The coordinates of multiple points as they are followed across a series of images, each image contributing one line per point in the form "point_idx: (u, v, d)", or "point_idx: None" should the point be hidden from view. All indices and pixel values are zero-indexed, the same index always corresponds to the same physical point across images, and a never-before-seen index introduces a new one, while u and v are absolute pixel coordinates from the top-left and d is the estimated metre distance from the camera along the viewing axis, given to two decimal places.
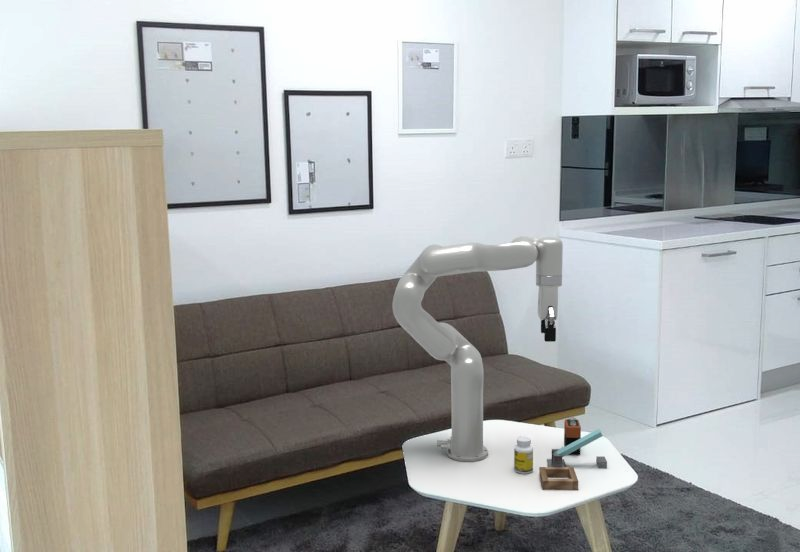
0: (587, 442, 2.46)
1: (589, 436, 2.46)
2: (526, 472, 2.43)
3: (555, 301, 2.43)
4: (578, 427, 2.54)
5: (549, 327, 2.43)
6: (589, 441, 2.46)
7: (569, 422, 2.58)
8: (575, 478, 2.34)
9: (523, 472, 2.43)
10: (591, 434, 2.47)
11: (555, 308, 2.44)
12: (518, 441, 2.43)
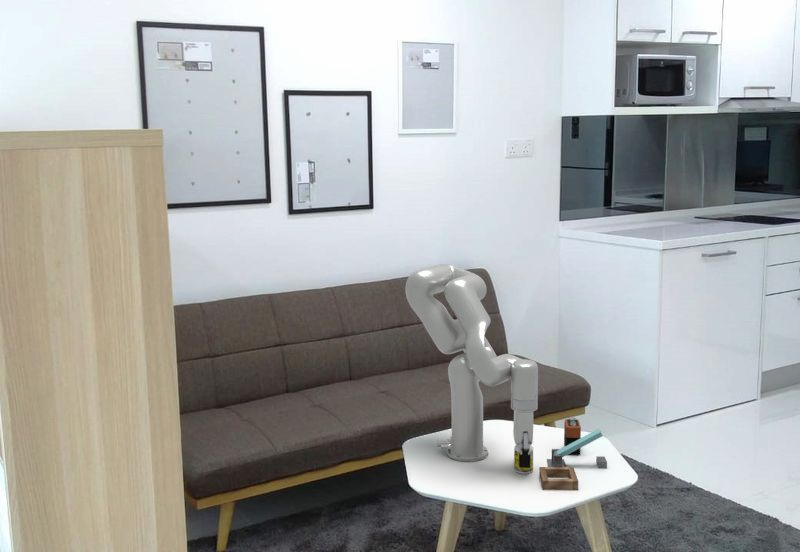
0: (587, 442, 2.46)
1: (589, 436, 2.46)
2: (526, 472, 2.43)
3: (530, 426, 2.38)
4: (578, 427, 2.54)
5: (523, 455, 2.40)
6: (589, 441, 2.46)
7: (569, 422, 2.58)
8: (575, 478, 2.34)
9: (523, 472, 2.43)
10: (591, 434, 2.47)
11: (530, 433, 2.38)
12: None
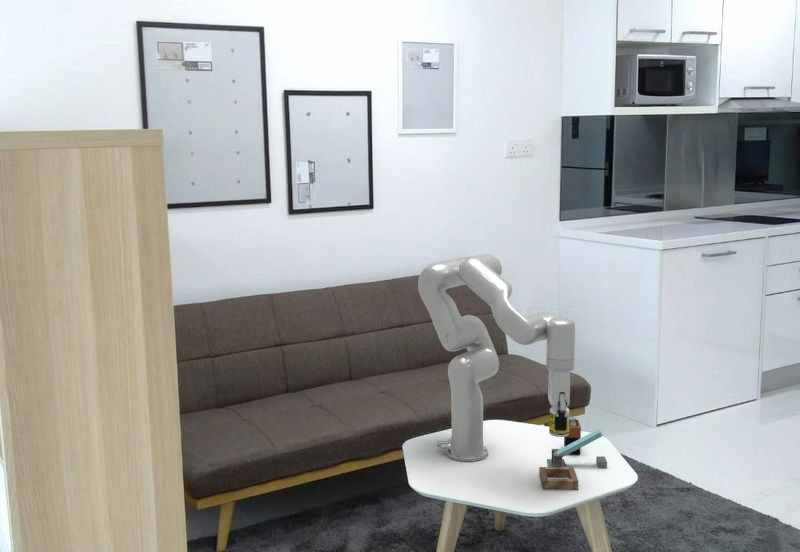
0: (587, 442, 2.46)
1: (589, 436, 2.46)
2: (562, 435, 2.32)
3: (567, 387, 2.27)
4: (578, 427, 2.54)
5: (560, 417, 2.29)
6: (589, 441, 2.46)
7: (569, 422, 2.58)
8: (575, 478, 2.34)
9: (559, 435, 2.32)
10: (591, 434, 2.47)
11: (567, 394, 2.27)
12: None
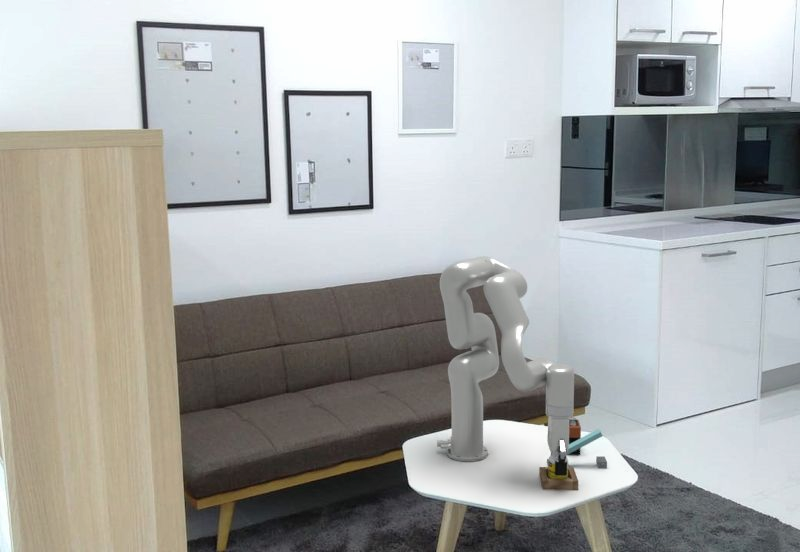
0: (587, 442, 2.46)
1: (589, 436, 2.46)
2: None
3: (566, 434, 2.30)
4: (578, 427, 2.54)
5: (560, 461, 2.30)
6: (589, 441, 2.46)
7: (569, 422, 2.58)
8: (575, 478, 2.34)
9: None
10: (591, 434, 2.47)
11: (566, 441, 2.30)
12: (553, 452, 2.35)
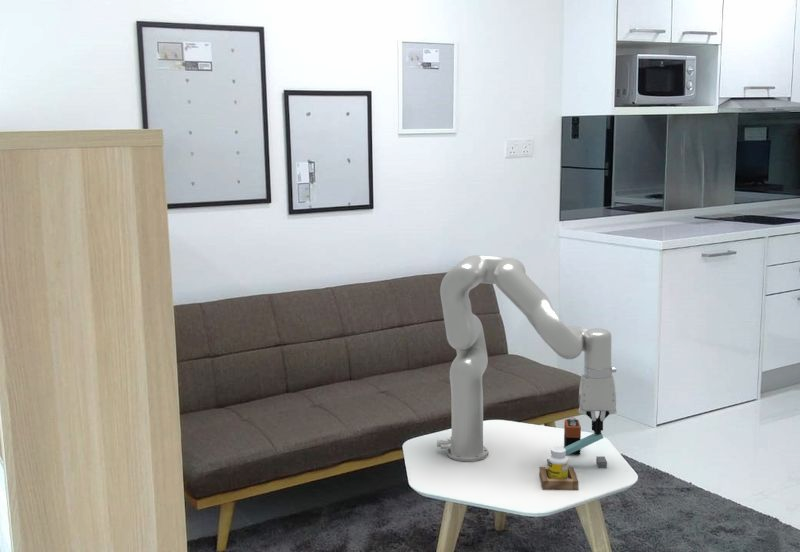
0: (588, 443, 2.46)
1: (590, 437, 2.46)
2: None
3: (581, 391, 2.43)
4: (578, 427, 2.54)
5: None
6: (590, 442, 2.46)
7: (569, 422, 2.58)
8: (575, 478, 2.34)
9: None
10: (592, 435, 2.47)
11: (580, 398, 2.43)
12: (553, 452, 2.35)
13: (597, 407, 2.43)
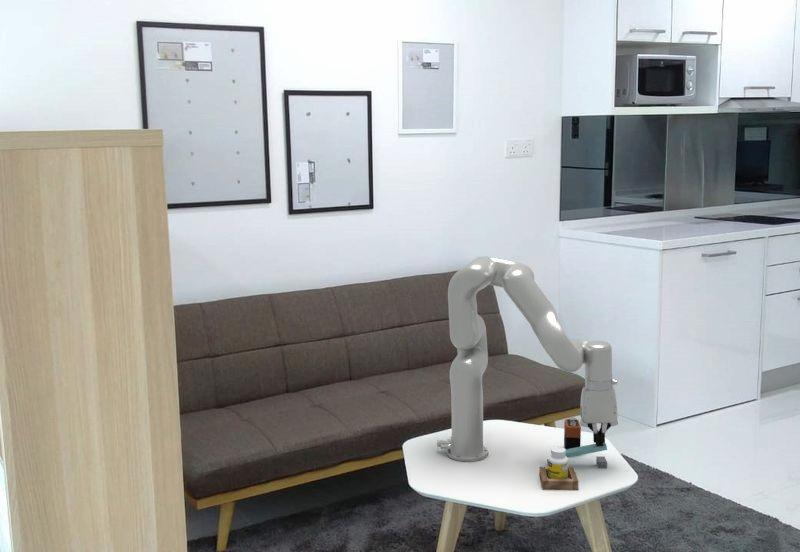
0: (590, 451, 2.46)
1: (594, 446, 2.47)
2: None
3: (582, 404, 2.44)
4: (578, 427, 2.54)
5: None
6: (592, 451, 2.46)
7: (569, 422, 2.58)
8: (575, 478, 2.34)
9: None
10: (596, 445, 2.47)
11: (582, 410, 2.44)
12: (553, 452, 2.34)
13: (598, 419, 2.43)
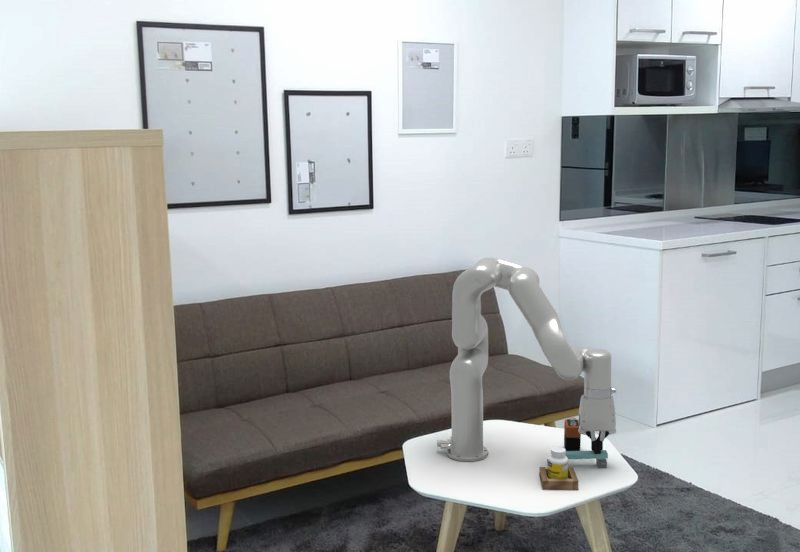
0: (591, 457, 2.46)
1: None
2: None
3: (581, 411, 2.44)
4: (578, 427, 2.54)
5: None
6: (593, 457, 2.46)
7: (569, 422, 2.58)
8: (575, 478, 2.34)
9: None
10: None
11: (580, 418, 2.44)
12: (553, 452, 2.35)
13: (597, 427, 2.44)
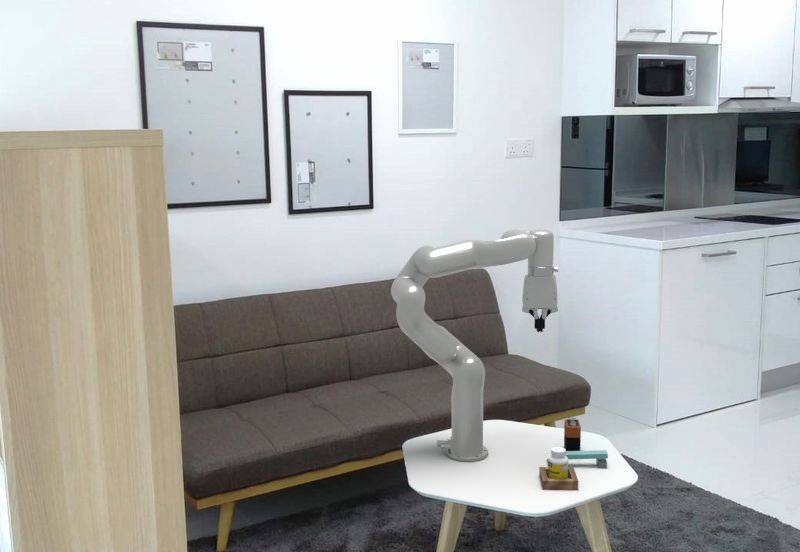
0: (591, 457, 2.46)
1: (595, 452, 2.47)
2: None
3: (524, 289, 2.53)
4: (578, 427, 2.54)
5: None
6: (593, 457, 2.46)
7: (569, 422, 2.58)
8: (575, 478, 2.34)
9: None
10: (597, 452, 2.48)
11: (523, 296, 2.53)
12: (553, 452, 2.35)
13: (539, 305, 2.53)
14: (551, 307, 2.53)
